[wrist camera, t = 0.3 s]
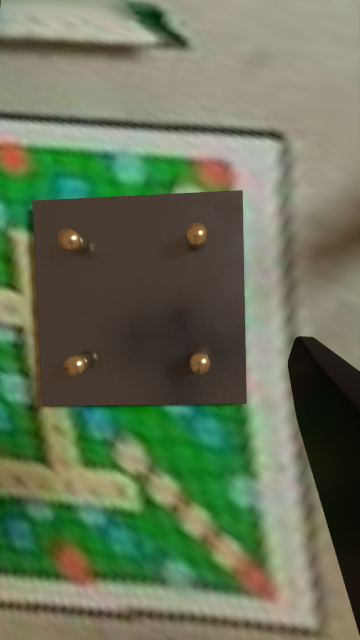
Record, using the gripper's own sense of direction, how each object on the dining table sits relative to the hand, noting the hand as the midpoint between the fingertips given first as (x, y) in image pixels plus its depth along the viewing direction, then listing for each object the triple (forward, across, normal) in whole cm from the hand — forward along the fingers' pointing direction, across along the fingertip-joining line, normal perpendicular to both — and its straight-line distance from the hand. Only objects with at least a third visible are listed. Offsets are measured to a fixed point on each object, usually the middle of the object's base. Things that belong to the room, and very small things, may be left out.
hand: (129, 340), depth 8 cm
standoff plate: (+13, +2, +7) cm, 15 cm away
